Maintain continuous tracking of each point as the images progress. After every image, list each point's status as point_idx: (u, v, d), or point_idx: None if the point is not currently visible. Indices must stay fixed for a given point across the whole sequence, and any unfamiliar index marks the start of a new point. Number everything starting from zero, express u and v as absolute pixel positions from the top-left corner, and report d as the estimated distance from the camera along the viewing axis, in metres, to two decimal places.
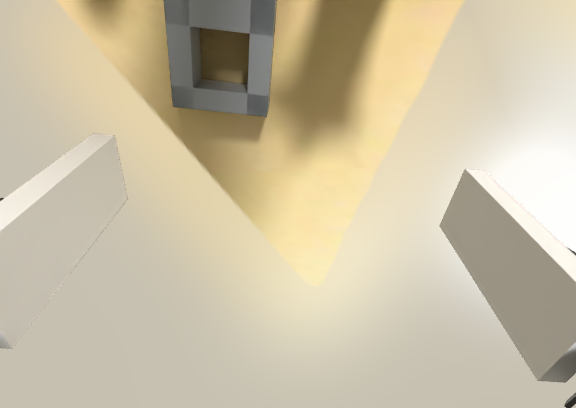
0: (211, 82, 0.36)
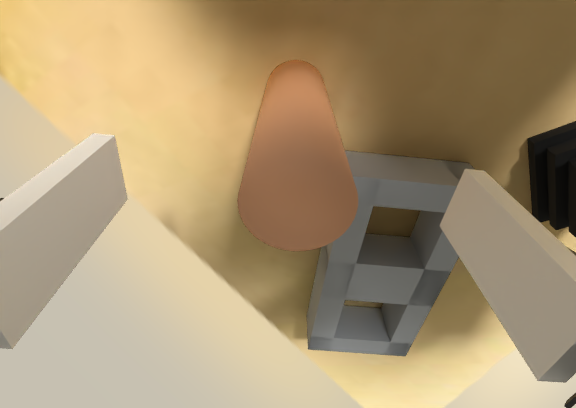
0: (343, 313, 0.34)
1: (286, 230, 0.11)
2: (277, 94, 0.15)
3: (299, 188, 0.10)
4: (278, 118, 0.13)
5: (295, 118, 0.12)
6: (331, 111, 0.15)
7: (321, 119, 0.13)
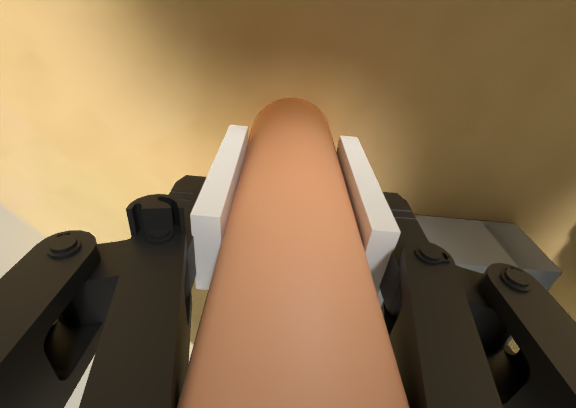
0: None
1: None
2: (260, 174, 0.10)
3: None
4: (256, 253, 0.07)
5: (289, 263, 0.06)
6: (348, 201, 0.10)
7: (337, 251, 0.07)
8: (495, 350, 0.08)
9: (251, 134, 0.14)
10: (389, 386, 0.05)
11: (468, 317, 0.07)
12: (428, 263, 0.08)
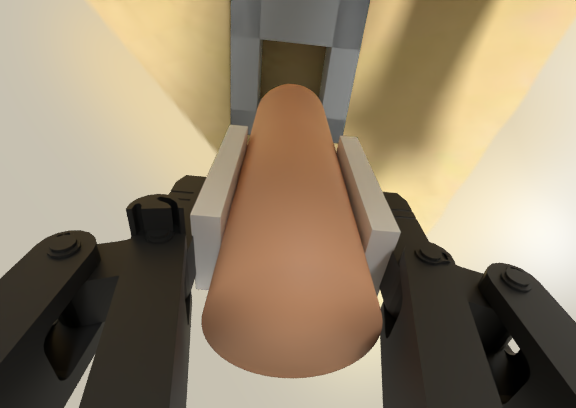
0: None
1: (275, 356, 0.08)
2: (266, 138, 0.12)
3: (294, 309, 0.07)
4: (264, 184, 0.09)
5: (289, 187, 0.09)
6: (336, 159, 0.12)
7: (325, 184, 0.09)
8: (495, 350, 0.08)
9: (256, 113, 0.17)
10: (356, 257, 0.07)
11: (468, 317, 0.07)
12: (428, 263, 0.08)
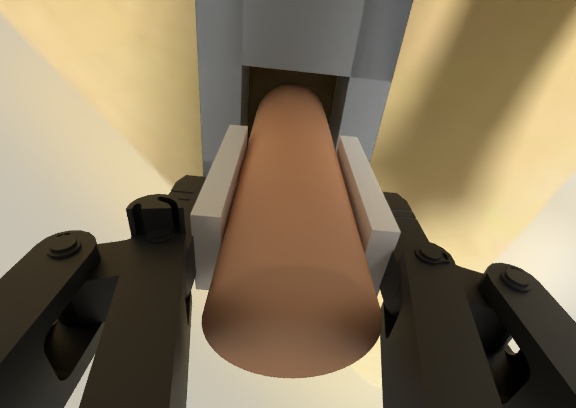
0: None
1: (275, 356, 0.08)
2: (266, 138, 0.12)
3: (294, 310, 0.07)
4: (264, 184, 0.09)
5: (289, 188, 0.09)
6: (336, 160, 0.12)
7: (325, 184, 0.09)
8: (495, 350, 0.08)
9: (256, 114, 0.17)
10: (356, 257, 0.07)
11: (468, 317, 0.07)
12: (428, 263, 0.08)
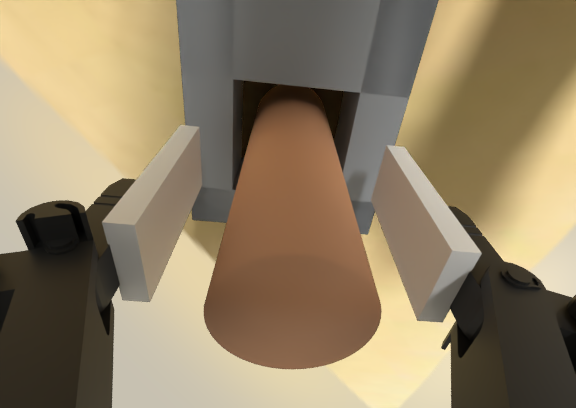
0: None
1: (276, 347, 0.08)
2: (267, 134, 0.12)
3: (294, 299, 0.07)
4: (265, 178, 0.09)
5: (289, 181, 0.09)
6: (336, 156, 0.12)
7: (324, 179, 0.09)
8: None
9: (257, 112, 0.17)
10: (355, 249, 0.07)
11: (561, 348, 0.06)
12: (516, 286, 0.07)
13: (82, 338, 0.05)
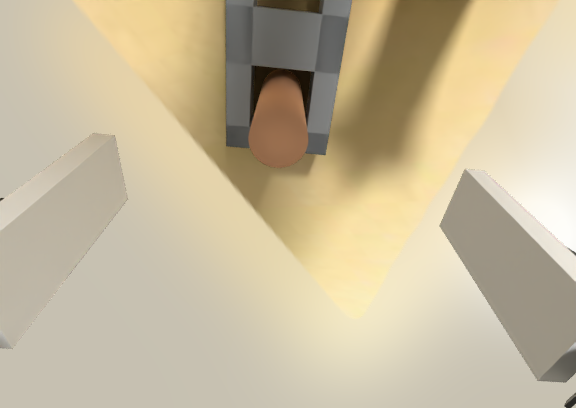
0: None
1: (273, 154, 0.22)
2: (268, 88, 0.27)
3: (279, 130, 0.21)
4: (268, 99, 0.24)
5: (277, 98, 0.23)
6: (300, 98, 0.27)
7: (291, 100, 0.24)
8: None
9: (263, 84, 0.31)
10: (299, 116, 0.22)
11: None
12: None
13: None
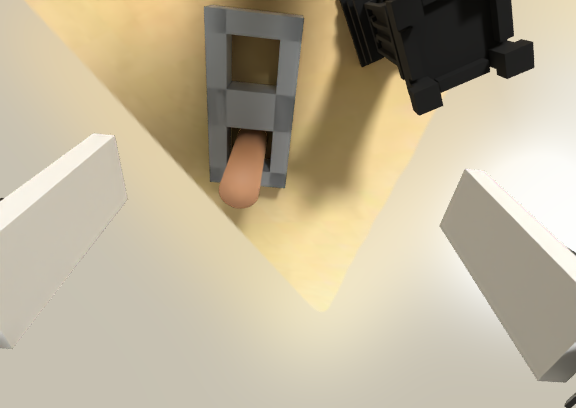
0: None
1: (236, 200, 0.33)
2: (237, 147, 0.37)
3: (238, 185, 0.32)
4: (234, 160, 0.34)
5: (240, 161, 0.34)
6: (260, 154, 0.37)
7: (250, 160, 0.34)
8: None
9: None
10: (253, 175, 0.32)
11: None
12: None
13: None
